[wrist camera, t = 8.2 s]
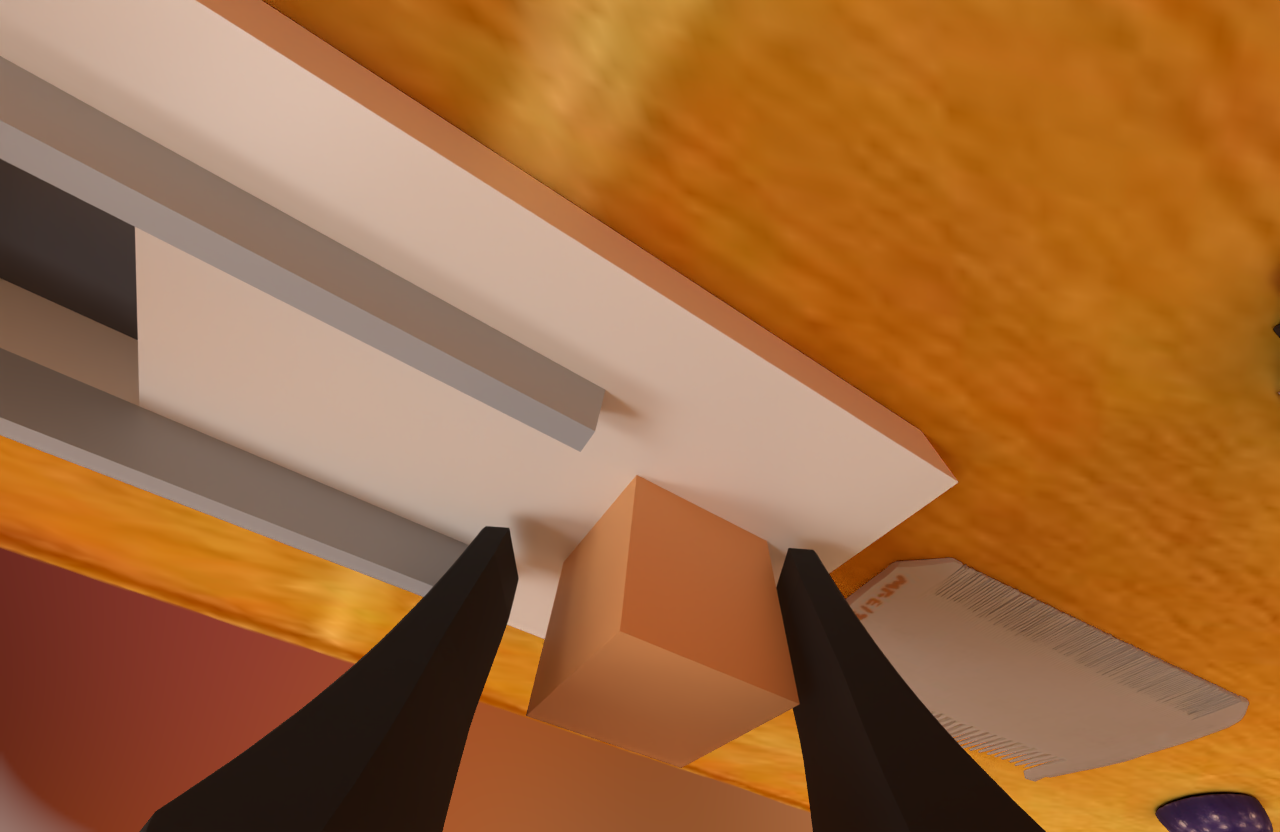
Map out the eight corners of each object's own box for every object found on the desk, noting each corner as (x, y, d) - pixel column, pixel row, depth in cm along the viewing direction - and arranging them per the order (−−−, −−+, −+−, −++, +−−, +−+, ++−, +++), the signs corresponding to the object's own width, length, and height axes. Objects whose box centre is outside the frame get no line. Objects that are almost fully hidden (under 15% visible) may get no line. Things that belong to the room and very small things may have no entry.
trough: (-81, 320, 13) (-307, 387, 10) (-304, -369, 6) (-1102, -748, 4) (669, 634, 19) (668, 733, 16) (920, 430, 12) (994, 532, 10)
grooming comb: (735, 670, 20) (737, 688, 20) (915, 532, 15) (926, 551, 14) (1032, 774, 24) (1042, 792, 24) (1257, 694, 19) (1277, 714, 18)
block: (563, 562, 13) (526, 715, 10) (636, 474, 11) (620, 630, 8) (680, 613, 14) (681, 767, 11) (766, 540, 12) (799, 704, 9)
